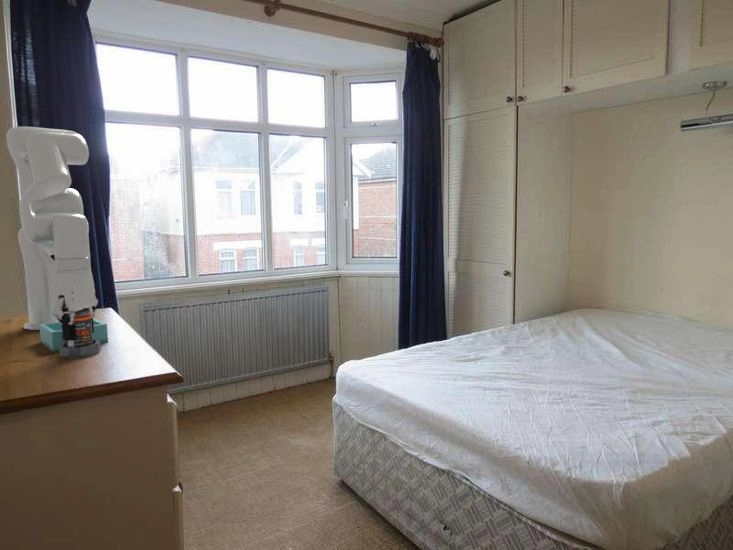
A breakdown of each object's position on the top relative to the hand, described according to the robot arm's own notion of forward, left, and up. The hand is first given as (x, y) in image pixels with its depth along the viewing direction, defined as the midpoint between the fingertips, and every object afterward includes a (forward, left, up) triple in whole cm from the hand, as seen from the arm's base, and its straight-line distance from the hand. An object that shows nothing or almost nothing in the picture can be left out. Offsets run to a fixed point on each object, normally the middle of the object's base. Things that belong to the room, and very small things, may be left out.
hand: (78, 335), depth 127 cm
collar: (0, 0, -4) cm, 4 cm away
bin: (-13, +2, -4) cm, 14 cm away
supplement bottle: (0, 0, -3) cm, 3 cm away
